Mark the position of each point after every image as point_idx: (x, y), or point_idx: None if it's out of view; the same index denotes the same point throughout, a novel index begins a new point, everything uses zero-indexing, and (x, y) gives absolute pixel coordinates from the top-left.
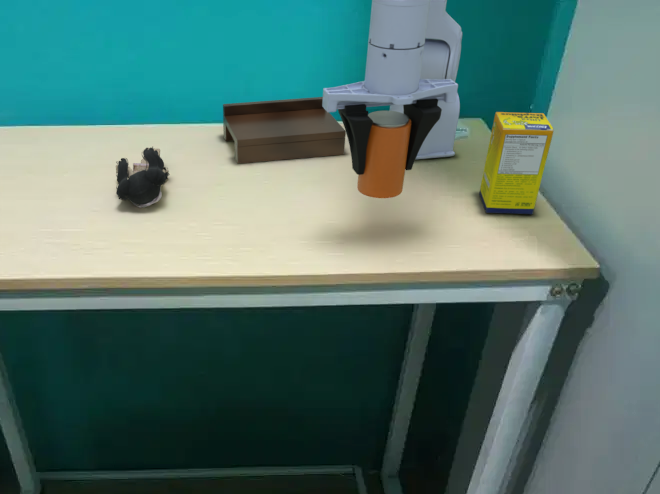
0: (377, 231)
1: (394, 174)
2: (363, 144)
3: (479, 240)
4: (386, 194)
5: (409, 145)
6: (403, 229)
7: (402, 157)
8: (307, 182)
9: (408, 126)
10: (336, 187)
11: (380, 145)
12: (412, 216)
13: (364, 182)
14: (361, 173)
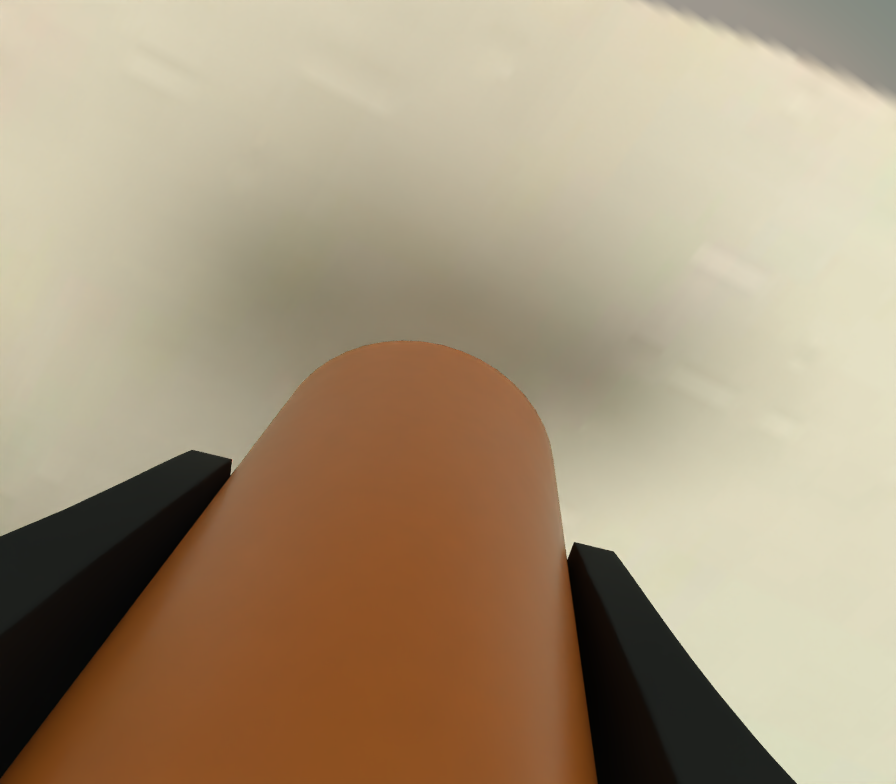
0: None
1: (386, 408)
2: (706, 758)
3: (7, 67)
4: (451, 356)
5: (114, 612)
6: (305, 328)
7: (276, 486)
8: None
9: None
10: None
11: (529, 663)
12: (208, 408)
13: (558, 498)
14: (593, 550)
